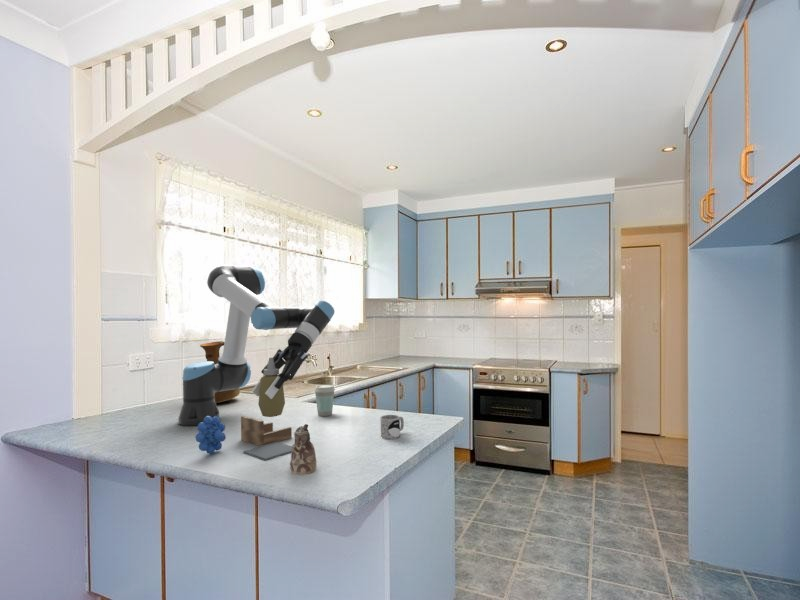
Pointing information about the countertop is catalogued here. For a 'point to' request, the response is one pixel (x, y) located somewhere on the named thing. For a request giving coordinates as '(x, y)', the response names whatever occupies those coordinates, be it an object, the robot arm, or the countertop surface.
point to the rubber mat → (269, 450)
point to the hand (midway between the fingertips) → (261, 394)
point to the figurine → (302, 452)
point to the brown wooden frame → (262, 432)
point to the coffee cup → (324, 399)
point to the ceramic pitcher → (213, 356)
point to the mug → (391, 426)
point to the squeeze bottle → (278, 401)
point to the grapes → (210, 434)
